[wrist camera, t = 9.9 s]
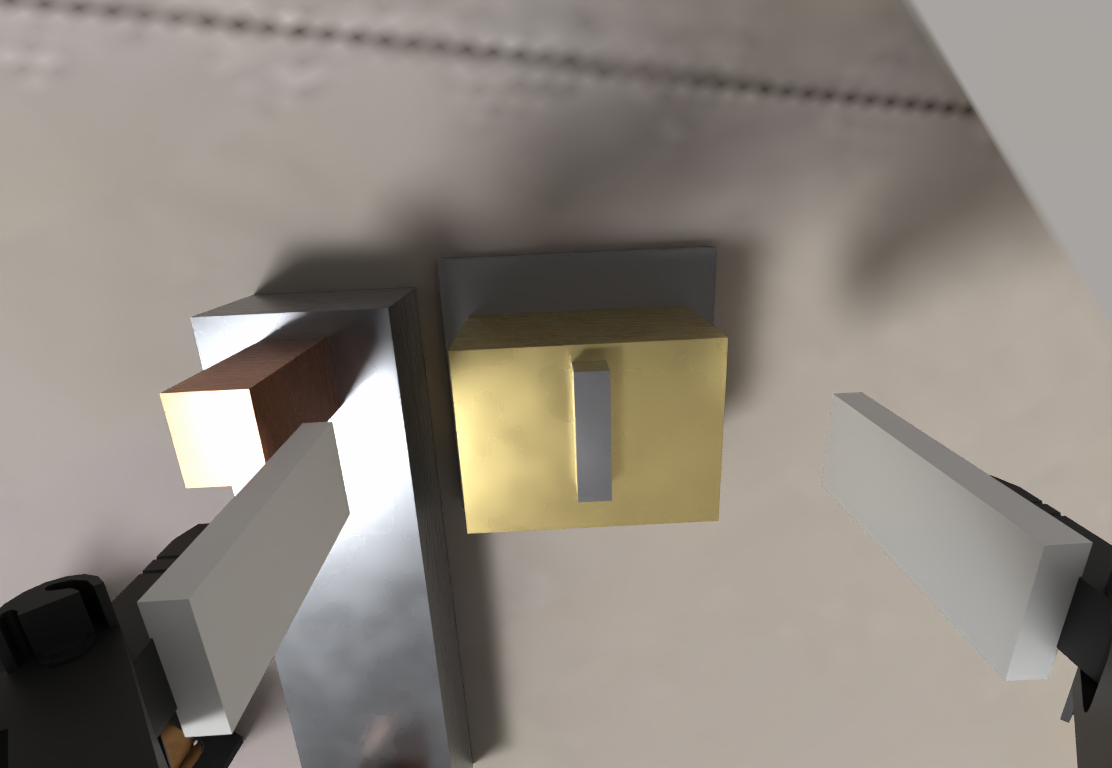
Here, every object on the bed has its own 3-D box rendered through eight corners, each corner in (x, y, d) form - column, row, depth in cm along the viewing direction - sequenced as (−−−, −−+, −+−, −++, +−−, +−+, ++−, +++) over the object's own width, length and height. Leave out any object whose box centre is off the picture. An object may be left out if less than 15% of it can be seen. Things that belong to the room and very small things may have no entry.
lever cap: (469, 315, 21) (442, 360, 15) (686, 305, 21) (739, 346, 15) (482, 463, 23) (463, 552, 17) (681, 453, 23) (727, 538, 17)
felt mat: (439, 258, 21) (436, 260, 20) (711, 246, 21) (716, 247, 21) (464, 500, 24) (463, 507, 24) (701, 488, 24) (705, 495, 24)
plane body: (252, 295, 21) (59, 364, 13) (415, 287, 21) (331, 350, 13) (353, 771, 29) (274, 1014, 20) (472, 764, 29) (444, 1004, 20)
